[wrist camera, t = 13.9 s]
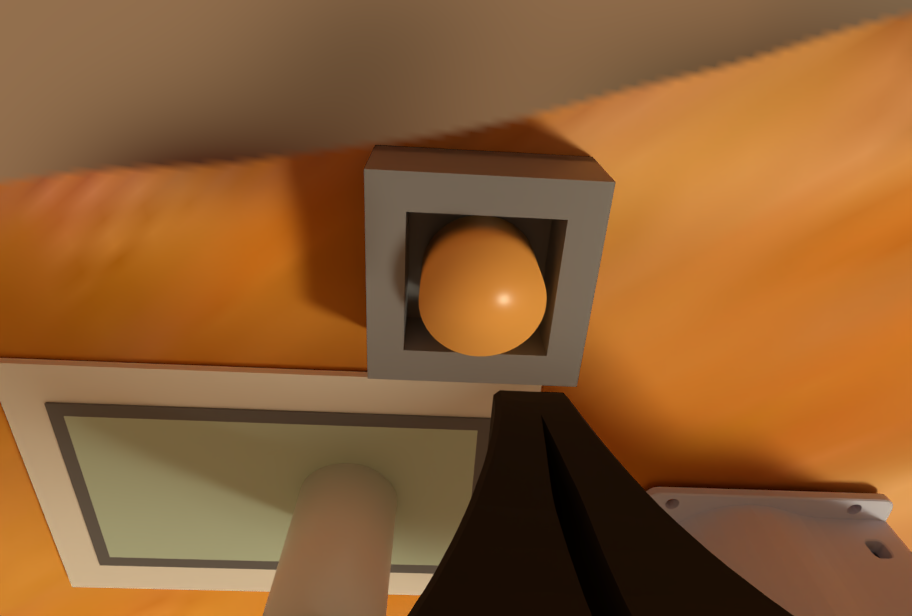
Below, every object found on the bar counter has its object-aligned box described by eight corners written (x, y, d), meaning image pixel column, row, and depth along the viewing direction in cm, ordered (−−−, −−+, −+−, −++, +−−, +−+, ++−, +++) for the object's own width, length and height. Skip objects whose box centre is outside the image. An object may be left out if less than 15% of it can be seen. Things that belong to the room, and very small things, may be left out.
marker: (399, 464, 21) (375, 701, 14) (397, 536, 23) (375, 781, 15) (295, 459, 21) (216, 698, 14) (300, 533, 22) (233, 778, 15)
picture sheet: (540, 378, 20) (542, 385, 19) (508, 591, 25) (509, 599, 24) (-9, 357, 19) (-18, 364, 19) (76, 580, 24) (70, 589, 24)
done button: (542, 217, 16) (555, 246, 14) (529, 321, 17) (538, 358, 15) (423, 211, 15) (420, 239, 14) (420, 316, 17) (417, 353, 15)
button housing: (592, 156, 16) (615, 181, 14) (561, 341, 19) (576, 386, 17) (375, 144, 16) (363, 168, 14) (377, 333, 19) (367, 378, 17)
